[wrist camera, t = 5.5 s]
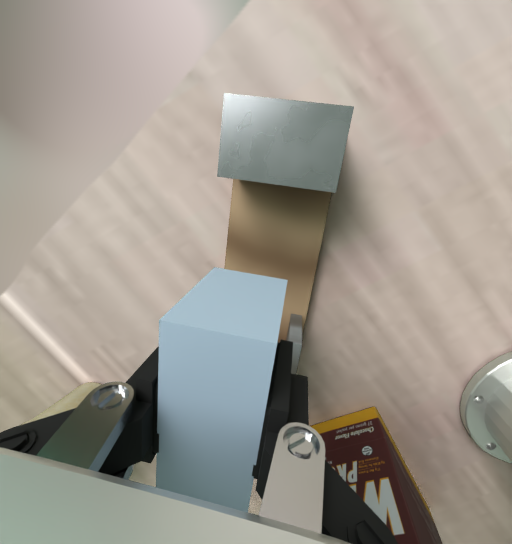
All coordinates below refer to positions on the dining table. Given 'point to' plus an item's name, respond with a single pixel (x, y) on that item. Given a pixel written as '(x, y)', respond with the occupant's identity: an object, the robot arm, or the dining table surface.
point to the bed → (279, 244)
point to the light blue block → (216, 384)
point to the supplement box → (378, 474)
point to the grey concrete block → (283, 141)
